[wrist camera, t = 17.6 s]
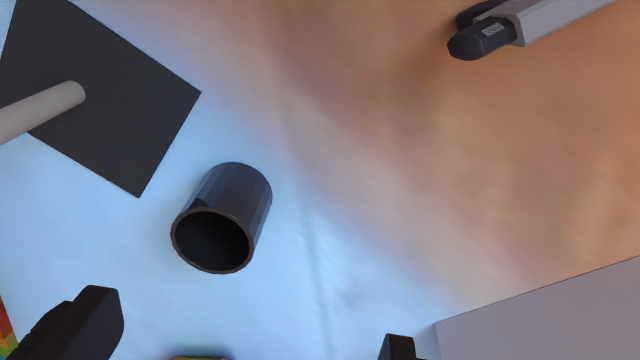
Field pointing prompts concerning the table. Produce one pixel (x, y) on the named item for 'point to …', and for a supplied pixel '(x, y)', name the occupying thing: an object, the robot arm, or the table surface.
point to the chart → (6, 334)
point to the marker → (38, 109)
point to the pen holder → (223, 219)
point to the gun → (513, 24)
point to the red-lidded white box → (554, 321)
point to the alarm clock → (181, 359)
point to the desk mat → (94, 91)
